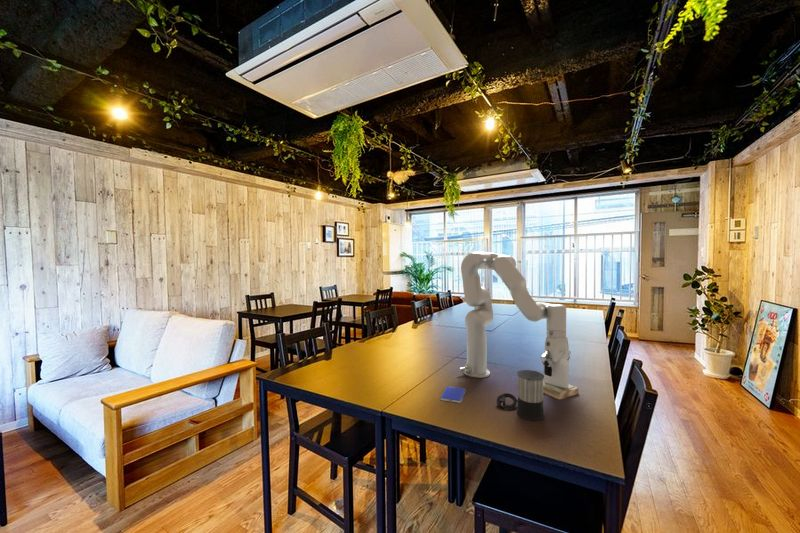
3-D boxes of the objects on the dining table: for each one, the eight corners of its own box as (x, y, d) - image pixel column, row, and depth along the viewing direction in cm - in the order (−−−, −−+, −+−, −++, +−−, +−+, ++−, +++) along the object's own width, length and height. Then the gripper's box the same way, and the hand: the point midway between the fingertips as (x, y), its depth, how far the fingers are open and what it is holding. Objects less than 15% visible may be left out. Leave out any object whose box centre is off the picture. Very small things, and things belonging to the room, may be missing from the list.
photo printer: (541, 382, 138) (541, 353, 138) (546, 379, 141) (546, 352, 141) (565, 389, 130) (565, 359, 130) (570, 387, 133) (570, 357, 132)
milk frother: (547, 422, 110) (547, 379, 109) (499, 418, 113) (499, 376, 112) (537, 404, 124) (537, 366, 123) (495, 400, 127) (495, 363, 126)
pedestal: (558, 399, 127) (558, 392, 127) (534, 388, 138) (534, 382, 138) (578, 393, 133) (578, 387, 133) (553, 383, 143) (553, 377, 143)
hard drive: (446, 385, 139) (440, 397, 128) (465, 388, 136) (460, 400, 125) (446, 389, 139) (440, 401, 128) (465, 392, 137) (460, 404, 125)
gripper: (549, 337, 128) (549, 380, 128) (577, 333, 135) (577, 373, 136) (534, 333, 134) (534, 374, 135) (561, 329, 142) (561, 367, 142)
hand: (556, 373), depth 135 cm, fingers open, 9 cm apart
